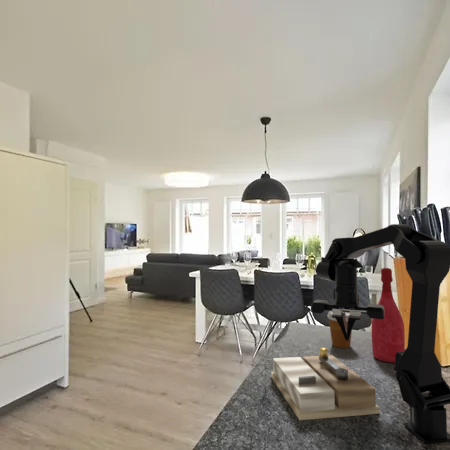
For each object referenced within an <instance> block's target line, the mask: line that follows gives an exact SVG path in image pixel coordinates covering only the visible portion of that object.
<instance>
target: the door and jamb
mask: <svg viewBox="0 0 450 450" xmlns="http://www.w3.org/2000/svg"><path fill="white" fill-rule="evenodd" d="M328 358H329V359H331V360H332V361H333V362H334V363H336V364H337V365H338V366H339V367H341V368H343V369H346V370H348V379H345V380H343V379H339V378H337V377H336V374H335V373H334V372H333V371H331V370H330V369H329V368H328V367H327V366H326V365H325V364H323V363H322V362H321V361H320V360H319V355H311V356H302V358H301V357H300V356H291V357H276V358H275V357H273V358H272V368H273V369H272V371H270V378H271V380H273V382H274V384H275V385H276V386H277V389H279V392H280V393H281V394H282V396H283V397H284V399H285V400H286V402H287V404H288V405H289V407H290V408H291V410H292V411H293V412H294V414H295V416H296V417H297V419H298V420H299V421H305V420H307V421H308V420H318V419H320V420H321V419H329V418H330V419H331V418H332V419H333V418H342V417H354V416H367V415H377V414H380V407H379V405H377V403H376V402H377V401H376V399H377V397H376V388H375V387H374V386H373V385H372V384H371V383H370V382H368V381H366V380H365V379H364V378H363V377H361V375H359V374H358V373H356V372H355V371H354V370H352V369H351V368H350V367H348V366H347V365H345V364H344V363H343V362H342V361H341V360H339V359H337V357H335V356H334V355H332V354H328Z"/></svg>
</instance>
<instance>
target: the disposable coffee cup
mask: <svg viewBox="0 0 450 450" xmlns="http://www.w3.org/2000/svg"><path fill="white" fill-rule="evenodd" d="M345 313H346V326H347V328H348V317H349V316H350V312H345ZM332 315H333V312H332V311H329V310H328V314H327V316H326V317H327V319H328V323H329V324H328V325H329V331H330V337H331V344H332V346H333V347H335V348H339V349H347V348H351V341H352V340H351V339H352V333H353V331H352V332H351V335H350V339H349V341H346V340H345V338H344V335H343V333H342V330H341V328H340V326H339V324H338V322H337V320H336V318H332Z"/></svg>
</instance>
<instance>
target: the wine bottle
mask: <svg viewBox="0 0 450 450" xmlns="http://www.w3.org/2000/svg"><path fill="white" fill-rule="evenodd" d="M392 273H393V270H392V269H391V268H390V267H382V268H381V269H380V275H381V276H380V280H381V283H382V285H381V294H380V297H379V301H378V303H377V304H378V305H383V306H384V314H385V315H384V319H374V318H371V346H372V355H373V357H374V358H375V359H377V360H379V361H382V362H384V363H385V362H386V363H391V364H393V363H394V364H396V361H395V355H396V353H397V352H402V351H405V350H406V348H405V346H406V343H405V342H406V341H405V340H406V337H405V323H404V320H403V317H402V315H401V312H400V309H399V308H398V306H397V304H396V301H395V299H394V296H393V292H392V283H393V274H392Z"/></svg>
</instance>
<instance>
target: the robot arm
mask: <svg viewBox="0 0 450 450" xmlns="http://www.w3.org/2000/svg"><path fill="white" fill-rule="evenodd" d="M389 245H393V247H394V250H395V251H396V253H398V255H400V256H401V257H402V258H404V261H405V270H406V272H407V273H408V276H409V278H410V279H411V295H410V296H411V297H410V311H409V320H408V321H409V322H408V323H409V324H408V334H407V335H408V336H407V347H406V348H405V351H402V352H397V353H396V355H395V361H396V363H394V368H393V371H394V372H395V377H396V381H397V384H398V387H399V391H400V395H401V398H402V401H403V402H404V403H407V404H408V407H409V413H410V414H409V416H410V421H408V422H407V421H406V422H404V427H406V428H407V429H408V430H409V431H410V432H412V433H413V434H414V435H415V436H416V437H417V438H419V439H420V440H421V441H423V443H426V444H431V443H442V442H450V433H449V432H448V425H447V424H448V420H447V416H448V415H447V408H445V406H446V405H450V385H449V384H448V383H447V382H446V380H445V379H444V377H443V374H442V364H441V362H440V361H439V358H438V357H437V355H436V353H435V347H436V336H437V325H438V312H439V299H440V290H441V289H440V288H441V284H442V282H443V281H444V280H445V278H446V276H447V275H448V274H449V272H450V246H449V245H448V243H445V242H444V241H442V240H437V239H435V238H434V237H433V236H430V235H428V234H425V233H423V232H420V231H418V230H416V229H414V227H412V226H410V225H409V224H400V223H396V224H395V223H393V224H389V225H387V226H385V227H383V228H380V229H377V230H374V231H371V232H367V233H365V234H361V235H358V236H355V237H354V236H353V237H339V238H338V237H337V238H334V239H333V240H332V241H331V244H330V246H329V248H328V250H327V252H326V254H325V256H321V258H320V259H321V260H320V261H318V263H317V265H316V267H315V274H316V276H317V277H318V278H319V279H322V280H326V281H332V282H334V283H335V285H334V286H335V288H334V289H333V295H332V296H333V297H332V298H333V300H335V303H329V301H328V300H325V299H324V300H323V299H315V300H314V301H313V302H311V303H310V313H313V314H323V313H324V312H325V311H328V312H329V311H332V312H333V315H332V318H336V320H337V322H338V324H339V326H340V328H341V330H342V333H343V335H344V338H345V340H346V341H349V339H350V335H351V336H352V333H353V328H354V325H355V324H356V321H361V319H362V316H363V314H364V315H367V316H368V317H369V318H370V319H372V318H374V319H384V315H385V314H384V306H383V305H378V303H375V304H374V303H367V306H361V305H360V295H359V292H358V269H362V268H364V266H363V264H362V263H361V262H360V261H358V258H360V257H361V256H363V255H364V254H365V253H366V252H368V251H371V250H375V249H379V248H383V247H386V246H389ZM345 312H350V316H349V317H348V328H347V326H346V313H345ZM351 332H352V333H351Z"/></svg>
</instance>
